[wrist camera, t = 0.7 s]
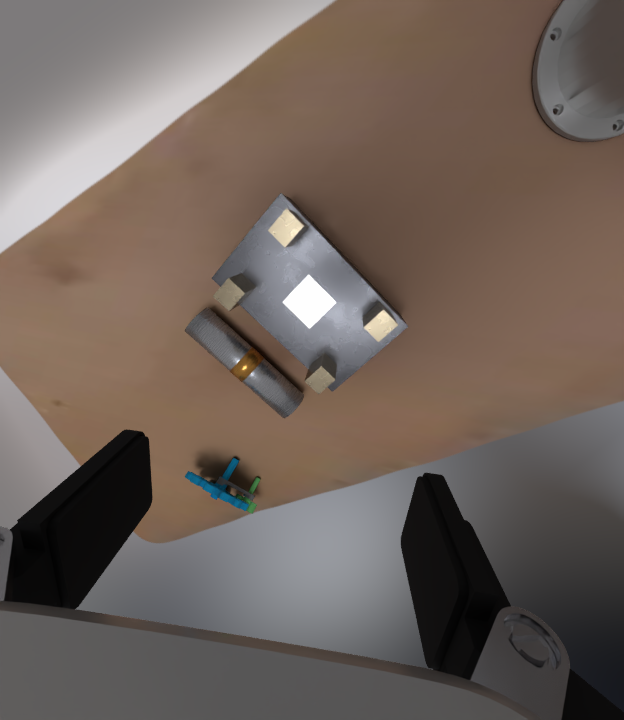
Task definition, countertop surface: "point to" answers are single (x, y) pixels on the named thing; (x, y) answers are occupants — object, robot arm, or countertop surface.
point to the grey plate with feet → (307, 296)
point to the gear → (220, 486)
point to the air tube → (244, 362)
